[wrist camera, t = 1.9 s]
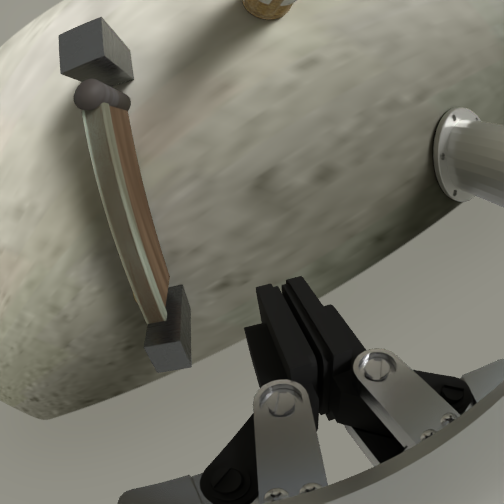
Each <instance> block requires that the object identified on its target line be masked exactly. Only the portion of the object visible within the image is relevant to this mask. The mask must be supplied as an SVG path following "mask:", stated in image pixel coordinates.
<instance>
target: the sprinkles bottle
mask: <svg viewBox="0 0 504 504" xmlns="http://www.w3.org/2000/svg"><path fill="white" fill-rule="evenodd" d="M242 1H243V5H244V7H245V8H246V9H247V10H248V12H250V13H251V14H252V15H254V16H256V17H259V18H262V19H276V18H280V17H282V16H284V15H285V14H286V13H287V12H288V11H289V10H290V8H291V6H292V4H293V3H294V2H295V1H297V0H242Z"/></svg>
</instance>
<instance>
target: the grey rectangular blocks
mask: <svg viewBox="0 0 504 504" xmlns="http://www.w3.org/2000/svg"><path fill="white" fill-rule="evenodd" d="M59 56H60V71H61V74H62V75H65V76H68V77H71V78H73V79H76V80H78V81H81V82H83V81H85V80H87V79H96V80H98V81H100V82H102V83H104V84H106V85H108V86H110V87H112V86H115V85H118V84H121V83H124V82H127V81H130V80H134V76H133V69H132V62H131V54H130V50H129V48H128V47H127V46H126V45H125V44H124V43H123V41H122V40H121V39H120V38H119V37H118V36H117V34H116V33H115V32H114V31H113V30H112V29H111V27H110V26H109V25H108V24H107V23H106V22H105V20H104V19H103V18H102V17H100V18H97V19H95V20H92V21H90V22H87V23H85V24H82V25H80V26H78V27H75V28H73V29H71V30H69V31H67V32H65V33H62V34H60V35H59ZM165 309H166V311H167V318H166V321H161V322H155V323H150V324H148V326H147V331H146V337H145V343H144V349H145V351H146V353H147V355H148V356H149V358H150V360H151V362H152V364H153V366H154V367H155V369H156V371H157V373H159V372H166V371H172V370H178V369H184V368H190V367H192V364H191V311H190V306H189V303H188V300H187V297H186V294H185V290H184V287H183V285H178V286H173V287H169V288H168V292H167V299H166V307H165Z"/></svg>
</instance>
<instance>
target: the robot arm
mask: <svg viewBox="0 0 504 504" xmlns="http://www.w3.org/2000/svg"><path fill="white" fill-rule="evenodd" d="M433 159H434V168H435V172H436V177H437V179H438V182H439V185H440V187H441V188H442V190H443V192H444V193H445V194H446V195H447V196H448V197H450V198H451V199H453V200H456V201H458V202H466V201H469V200H471V199H472V198H473V197H475V196H477V197H480V198H483V199H485V200H487V201H490V202H492V203H495V204H497V205H499V206H501V207H504V125H500V124H494V123H488V122H481V120H480V119H479V117H478V116H477V115H476V114H475V113H474V112H473V111H471V110H470V109H467V108H462V107H456V108H452V109H450V110H449V111H447V112H446V113H445V114H444V115H443V117H442V119H441V120H440V122H439V125H438V127H437V130H436V134H435V138H434V147H433ZM256 293H257V299H258V304H259V310H260V315H261V321H262V323H261V324H257V325H253V326H249V327H245V328H244V330H245V334H246V338H247V342H248V346H249V351H250V355H251V358H252V362H253V366H254V369H255V373H256V376H257V380H258V383H259V387H260V389H259V390H258V391H257V393H256V394H255V396H254V401H253V412H254V413H253V414H252V415H251V417H250V418H249V419H248V420H247V422H246V423H245V424H244V426H243V427H242V428H241V429H240V430H239V431H238V433H237V434H236V435H235V436H234V437H233V439H232V440H231V441H230V442H229V443H228V445H227V446H226V447H225V448H224V449H223V450H222V451H221V452H220V454H219V455H218V456H217V457H216V458H215V459H214V460H213V462H212V463H211V464H210V465H209V466H208V467H207V468H206V469H205V471H204V472H203V473H201V474H198V475H195V476H192V477H191V476H190V475H187V476H183V477H180V478H177V479H173V480H170V481H166V482H162V483H158V484H154V485H149V486H145V487H141V488H136V489H131V490H129V491H126V492H124V493H123V494H122V495H121V496H120V498H119V500H118V504H504V359H500V360H497V361H495V362H493V363H490V364H488V365H486V366H484V367H481V368H479V369H477V370H474V371H471V372H469V373H467V374H464V375H462V377H461V378H460V379H459V378H456V377H451V376H445V375H439V374H433V373H427V372H422V371H416V370H412V369H411V368H410V367H409V366H408V365H407V364H405V363H404V362H403V361H402V360H401V359H400V358H399V357H398V356H397V355H395V354H394V353H393V352H391V351H388V350H386V349H379V348H375V349H369V350H366V349H365V348H364V346H363V345H362V344H361V343H360V341H359V340H358V338H357V337H356V336H355V334H354V333H353V331H352V330H351V329H350V328H349V326H348V325H347V323H346V322H345V321H344V319H343V318H342V317H341V315H340V314H339V313H338V311H337V310H336V309H335V308H334V306H333V305H327V306H323V305H322V304H321V302H320V301H319V299H318V298H317V297H316V295H315V294H314V292H313V291H312V290H311V288H310V287H309V285H308V284H307V283H306V281H305V280H304V278H303V277H302V276H299V277H295V278H291V279H287V280H286V284H284V285H282V293H281V291H280V289H279V287H278V286H276V287H273V286H272V284H267V285H263V286H259V287H256ZM319 413H320V414H321V415H323V414H326V416H327V418H328V420H329V421H330V420H333V419H335V420H336V421H337V423H341V424H344V425H345V428H346V430H347V431H348V433H349V434H350V435H351V437H352V438H353V439H354V441H355V442H356V443H357V445H358V446H359V447H360V449H361V450H362V451H363V453H364V454H365V455H366V457H367V458H368V459H369V461H370V462H371V463H372V464H373V465H374V467H373V468H371V469H368V470H366V471H364V472H362V473H359V474H357V475H355V476H352V477H349V478H347V479H344V480H342V481H339V482H337V483H334V484H331V485H328V483H327V478H326V474H325V469H324V465H323V459H322V455H321V450H320V445H319V441H318V436H317V429H318V416H319Z"/></svg>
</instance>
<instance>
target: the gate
mask: <svg viewBox="0 0 504 504" xmlns="http://www.w3.org/2000/svg"><path fill="white" fill-rule="evenodd" d="M74 102H75V104H76V106H77V107H78V108H79V109H82V110H83V111H82V116H83V122H84V128H85V133H86V138H87V143H88V148H89V153H90V157H91V161H92V166H93V170H94V174H95V178H96V182H97V186H98V189H99V193H100V197H101V200H102V204H103V207H104V211H105V214H106V217H107V221H108V224H109V227H110V230H111V233H112V236H113V239H114V242H115V245H116V248H117V251H118V254H119V256H120V259H121V262H122V265H123V267H124V270H125V273H126V275H127V278H128V280H129V283H130V286H131V288H132V291H133V296H134V299H135V301H136V302H137V303H138V305H139V307H140V310H141V312H142V314H143V317H144V319H145V321H146V323H147V324H150V323H155V322H161V321H166V318H167V311H166V309H165V307H166V299H167V292H168V285H169V278H170V276H169V273H168V270H167V267H166V264H165V261H164V257H163V254H162V251H161V248H160V244H159V241H158V238H157V234H156V231H155V227H154V224H153V220H152V216H151V213H150V209H149V205H148V201H147V198H146V194H145V190H144V186H143V182H142V178H141V173H140V169H139V165H138V160H137V156H136V151H135V147H134V142H133V137H132V132H131V127H130V121H129V116H128V110H129V108H130V105H131V101H130V98H129V97H128V96H127V95H126V94H124V93H122V92H120V91H118V90H116V89H114V88H112V87H110V86H108V85H106V84H104V83H102V82H100V81H98V80H96V79H87V80H85V81H83V82H82V83H81V84H80V85H79V86H78V87H77V89H76V91H75V94H74Z"/></svg>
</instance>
